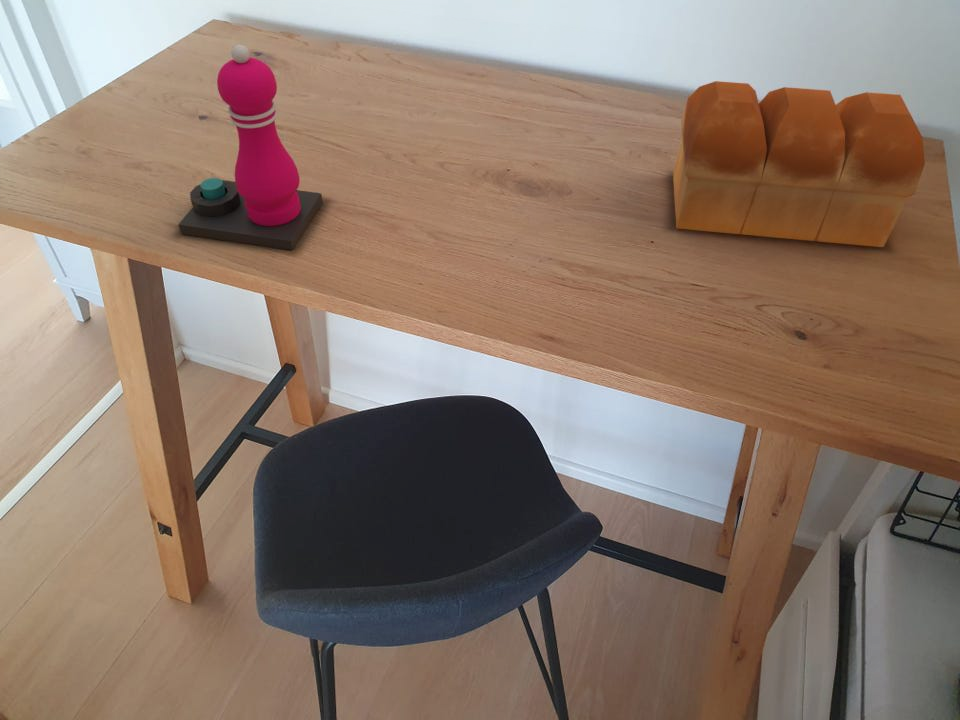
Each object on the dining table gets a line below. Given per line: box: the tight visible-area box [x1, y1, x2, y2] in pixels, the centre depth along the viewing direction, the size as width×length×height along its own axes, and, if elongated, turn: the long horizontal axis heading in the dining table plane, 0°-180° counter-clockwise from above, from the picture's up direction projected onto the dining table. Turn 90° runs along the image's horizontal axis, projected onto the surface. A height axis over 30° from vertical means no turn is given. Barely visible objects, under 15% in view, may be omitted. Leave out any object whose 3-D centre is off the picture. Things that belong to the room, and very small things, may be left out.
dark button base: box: [177, 179, 324, 251], centre depth 92 cm, size 14×10×3 cm
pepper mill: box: [216, 44, 301, 226], centre depth 84 cm, size 7×7×20 cm
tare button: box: [199, 177, 226, 200], centre depth 91 cm, size 3×3×2 cm
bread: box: [672, 80, 926, 248], centre depth 90 cm, size 25×12×15 cm, turn 82°
